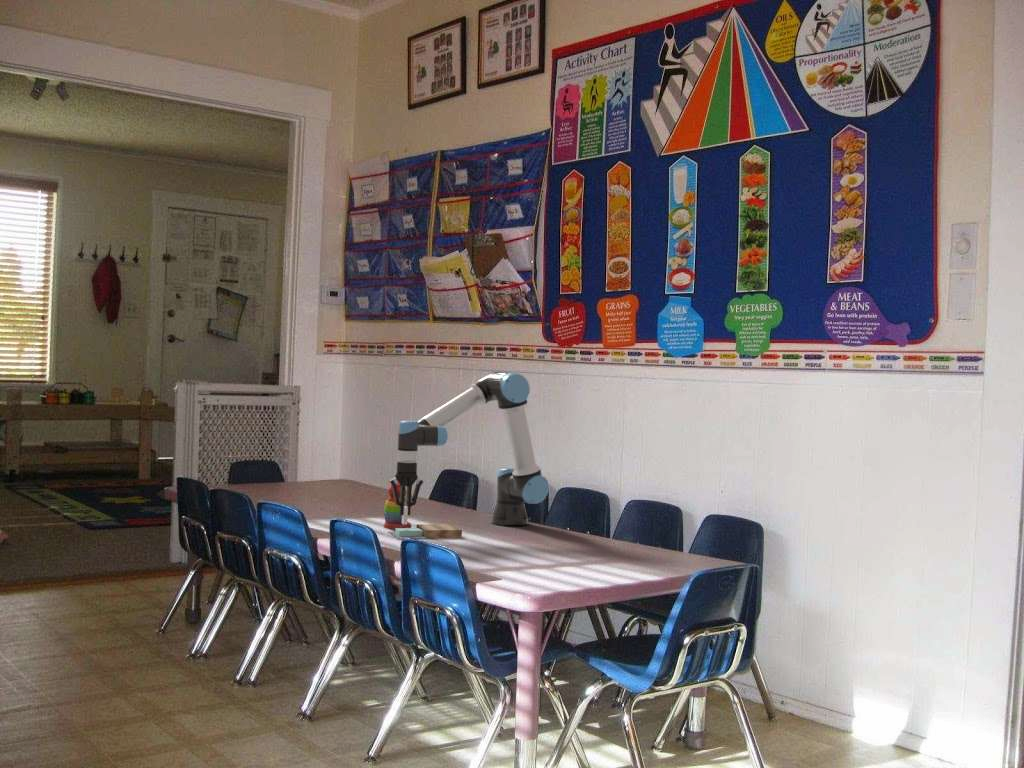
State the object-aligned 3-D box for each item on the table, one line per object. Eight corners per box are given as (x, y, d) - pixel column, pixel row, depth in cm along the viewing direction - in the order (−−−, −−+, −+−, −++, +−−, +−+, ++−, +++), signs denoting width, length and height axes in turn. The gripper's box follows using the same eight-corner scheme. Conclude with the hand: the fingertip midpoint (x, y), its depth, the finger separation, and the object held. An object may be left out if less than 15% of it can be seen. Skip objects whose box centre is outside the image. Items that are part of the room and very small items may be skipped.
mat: (415, 531, 427) (415, 531, 427) (426, 538, 412) (426, 538, 412) (387, 532, 423) (387, 531, 423) (398, 539, 408) (398, 538, 408)
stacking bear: (404, 530, 429) (406, 484, 429) (379, 528, 431) (381, 483, 431) (412, 526, 440) (414, 482, 439) (388, 524, 442) (389, 480, 441)
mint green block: (418, 533, 422) (418, 527, 422) (422, 535, 416) (422, 530, 416) (395, 533, 419) (395, 528, 419) (399, 536, 413) (399, 530, 413)
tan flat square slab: (450, 531, 431) (451, 524, 430) (461, 537, 417) (462, 529, 417) (416, 532, 426) (416, 524, 426) (426, 538, 413) (426, 530, 413)
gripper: (421, 460, 422) (418, 522, 423) (387, 460, 417) (385, 522, 418) (426, 462, 415) (423, 525, 415) (392, 462, 410) (390, 525, 411)
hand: (404, 523), depth 417 cm, fingers closed
